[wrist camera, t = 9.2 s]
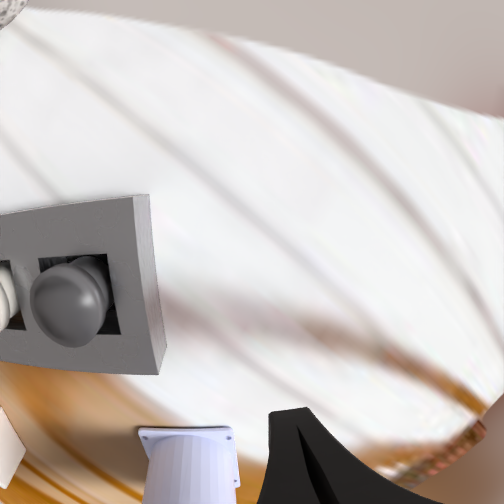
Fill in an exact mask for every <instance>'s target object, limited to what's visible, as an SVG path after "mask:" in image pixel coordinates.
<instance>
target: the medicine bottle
mask: <svg viewBox="0 0 504 504" xmlns="http://www.w3.org/2000/svg"><path fill="white" fill-rule="evenodd" d="M25 452H26V448H25V447H24V445H23V443H22V442H21V440H20V439H19V437H18V435H17V434H16V432H15V430H14V428H13V427H12V425H11V423H10V421H9V420H8V418H7V416H6V414H5V412H4V410H3V408H2V407H1V406H0V487H2V488H4V489H6V488H7V486H8V484H9V482H10V481H11V479H12V477H13V475H14V473H15V471H16V469H17V467H18V465H19V463H20V461H21V460H22V458H23V456H24V454H25Z"/></svg>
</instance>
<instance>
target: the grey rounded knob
mask: <svg viewBox="0 0 504 504" xmlns="http://www.w3.org/2000/svg"><path fill="white" fill-rule="evenodd" d="M113 303H114V295H113V290H112V284H111V278H110V271H109V267H108V266H107V265H106V264H105V263H104V262H103V261H101V260H99V259H97V258H95V257H91V256H84V257H80V258H78V259H76V260H74V261H72V262H71V263H61V264H57V265H55V266H53V267H51V268H49V269H48V270H46V271H44V272H42V273H41V274H40V275H38V276H37V278H36V279H35V280H34V282H33V284H32V286H31V290H30V307H31V311H32V314H33V317H34V319H35V321H36V323H37V325H38V326H39V328H40V329H41V330H42V331H43V333H44V334H45V335H46V336H47V337H49V338H50V339H51V340H52V341H54V342H56V343H57V344H59V345H62V346H65V347H70V348H77V347H82V346H84V345H86V344H88V343H89V342H90V341H91V340H92V339H93V338H94V336H95V335H96V334H97V332H98V331H99V330H100V328H101V327H102V325H103V323H104V321H105V317H106V312H107V310H108V309H109V308H110V307H111V306H112V304H113Z"/></svg>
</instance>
